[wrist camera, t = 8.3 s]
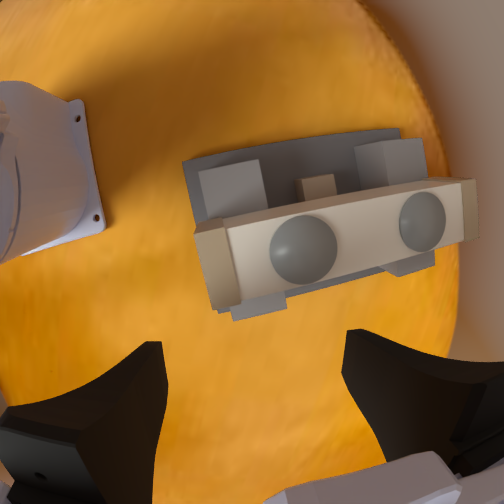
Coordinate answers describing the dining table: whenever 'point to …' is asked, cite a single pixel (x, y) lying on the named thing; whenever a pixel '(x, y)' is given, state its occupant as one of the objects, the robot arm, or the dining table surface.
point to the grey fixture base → (304, 189)
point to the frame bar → (332, 236)
